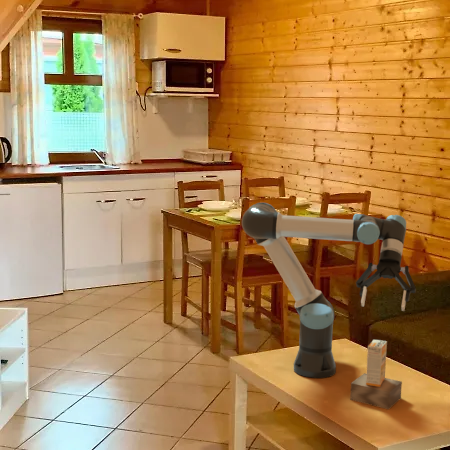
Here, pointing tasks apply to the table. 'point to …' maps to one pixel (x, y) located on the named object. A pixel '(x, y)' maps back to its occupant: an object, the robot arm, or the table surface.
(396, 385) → the walnut block
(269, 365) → the table surface
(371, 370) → the supplement box
